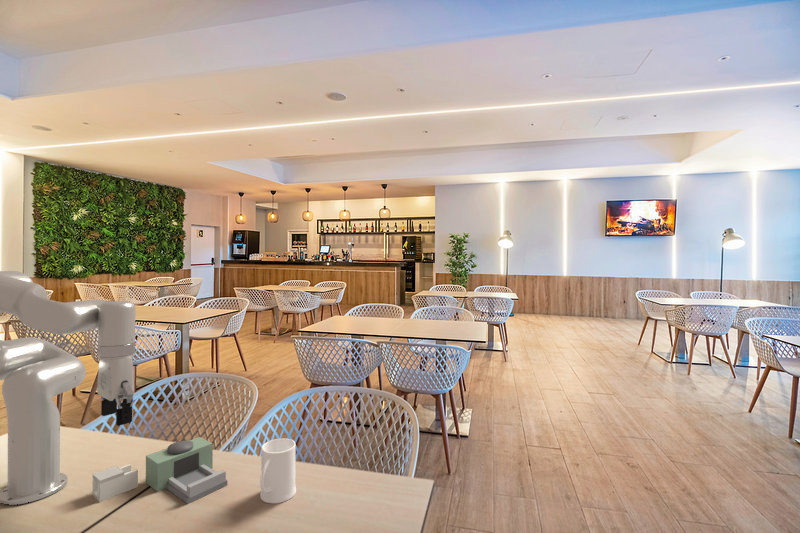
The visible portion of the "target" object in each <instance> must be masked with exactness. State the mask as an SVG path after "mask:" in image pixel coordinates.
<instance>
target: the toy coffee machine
mask: <svg viewBox="0 0 800 533" xmlns="http://www.w3.org/2000/svg"><path fill="white" fill-rule="evenodd" d="M213 445H214V444H213V442H212V441H209V440H207V439H205V438H203V437H201V436H199V437H195V438H193V439H189V440H180V441H176V442H173V443H170V444H169V445H168V446H167V447H166V448H164V449H161V450H159V451H155V452H153V453H150V454H146V455H145V483H146V484H147V485H148V486H149V487H151V488H152V489H154V491H155V492H157V493H158V492H161V491H163V490H165V489H166V490H168V491H169V492H171V493H172V494H174V496H176V497H177V498H179V499H180V500H182V501H183V502H185V504H186V505H189V504H190V503H193V502H195V501H197V500H199V499H201V498H203V497H206V496H207V495H209V494H212V493H214V492H216V491H218V490H221V489H223V488H225V487H227V486H228V480H227V479H226V478H227V476H226V474H227V473H226V472H227V471H226V470H224V469H221V470H219V471H216V470H214V469H213V463H214V462H213V456H214V455H213V450H214V449H213V448H214V447H213Z"/></svg>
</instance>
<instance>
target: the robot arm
mask: <svg viewBox="0 0 800 533" xmlns="http://www.w3.org/2000/svg"><path fill="white" fill-rule="evenodd" d="M2 313H6V314H10V315H13V316H16V317H17V319H18V320H19V322H21V323H22V324H23V325H24V326H26V327H29V328H31V329H34V330H37V331H41V332H44V333H45V332H46V333H49V334H55V335H61V336H62V335H72V334H77V333H81V332H85V331H86V332H87V331H91V330H96V329H97V331H98V332H97V341H98V342H97V350H98V351H97V359H98V360H99V361H98V362H99V363H98V371H97V384H96V385H97V395H99V396H100V399H101V402H100V404H101V406H100V409H101V410H100V415H101V417H107V416H109V415H113V414H115V420H116V421H115V425H116V426H117V427H119V426H120V427H121V426H123V425H126V424H129V423H132V422H133V405H134V404H133V402H134V395H135V394H134V388H135V387H134V381H135V380H134V367H133V366H134V365H133V363H134V362H133V357H135V355H136V305H135V304H134V302H132V301H128V300H113V301H111V300H109V301H108V300H103V299H86V300H75V301H68V302H67V301H66V302H62V301H57V300H53V299H49V298H48V293H47V291H46V289H45V287H44V286H42V285H41V284H39V283H35V282H34V281H33V278H31V277H30V276H29V275H28V274H26V273H24V272H21V271H16V270H0V315H1V314H2ZM86 371H87V369H86V367H85V364H84V363H83V362H82V360H81V359H79V358H78V357H77V356H76V355H73V354H71V353H70V352H68V351H66V350H64V349H62V348H60V347H58V346H57V345H55V344H53V343H51V342H50V341H48V340H45V339H43V338H39V337H34V336H32V337H31V336H28V337H27V336H26V337H20V338H15V339H8V340H7V339H6V340H2V339H0V381H3V382H2V386H1V393H2V397H3V398H2V399H3V401H4V404H5V409H6V418H7V486H6V487H4V489H2V490H1V491H0V502H1V503H4V504H9V505H8V506H17V504H18V505H23V504H28V502H29V503H32V502H36V501H39V500H41V499H44V498H47V497H49V496H51V495H53V494H56V492H58V491H59V492H60V490H61V489H63V488H64V487H65V486H66V485H67V483H68V479H69V478H68V475H67V474H65V473H62V472H61V469H60V468H61V416H60V411H59V408H58V406H57V405H56V403H55V402H54V399H53V398H54V397H56V396H58V395H60V394H63V393H66V392H68V391H70V390H72V389H75V388H76V387H78V386H79V385H80V384H81V383H82V382H84V380H85V378H86V374H87V372H86ZM121 400H122V401H121ZM1 503H0V504H1ZM4 504H3V505H4Z"/></svg>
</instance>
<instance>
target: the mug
mask: <svg viewBox="0 0 800 533" xmlns="http://www.w3.org/2000/svg"><path fill="white" fill-rule="evenodd" d="M260 469H261V474H260V478H259V479H260V480H259V485H260V494H259V497H260V500H262V502H264V503H267V504H280V503H284V502H286V501H288V500H290V499H291V498H293V497H294V496H295V495H296V493H297V487H296V442H295V441H294V440H293V439H291V438H275V439H271V440H268V441H267V442H264V444H262V446H261V468H260Z"/></svg>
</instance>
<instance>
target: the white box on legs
mask: <svg viewBox="0 0 800 533" xmlns="http://www.w3.org/2000/svg"><path fill="white" fill-rule="evenodd" d="M138 480H139V470H138V469H137V468H136V469H133V470H132V464H130V463H129V464H126V465H123V466H121V467H119V466H118V465H115V466H112V467H109V468H105V469H103V470H100V471H97V472H95V473H93V474H92V492H91V493H92V496H93V497H94V498H95V499H96V500H97V501H98V502H99V503H101V502H104V501H106V500H109V499H111V498H113V497H116V496H119V495H121V494H124V493H127V492H129V491H132V490H133V489H136V488H139V486H138V485H139V481H138Z"/></svg>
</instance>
